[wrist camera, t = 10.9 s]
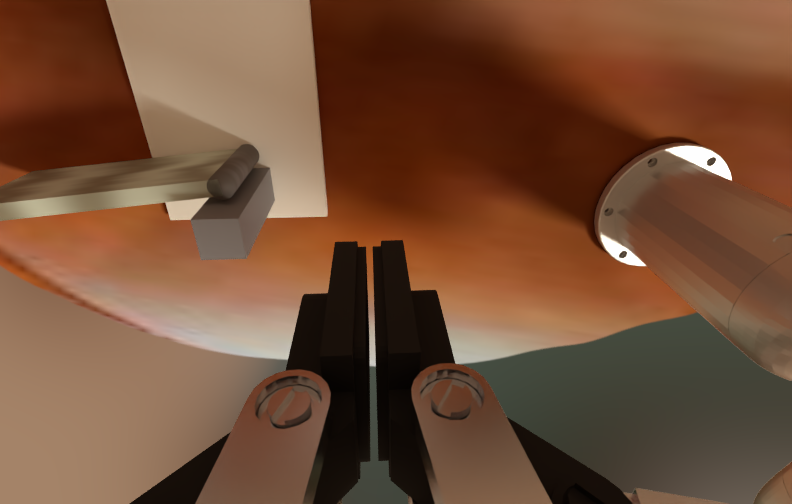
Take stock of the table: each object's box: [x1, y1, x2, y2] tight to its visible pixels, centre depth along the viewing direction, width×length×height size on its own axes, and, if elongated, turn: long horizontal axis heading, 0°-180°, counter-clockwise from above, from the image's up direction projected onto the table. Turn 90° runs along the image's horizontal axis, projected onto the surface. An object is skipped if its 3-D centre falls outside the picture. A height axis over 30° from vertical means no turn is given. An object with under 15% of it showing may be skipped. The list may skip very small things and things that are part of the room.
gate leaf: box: [0, 144, 259, 221], centre depth 31 cm, size 18×2×8 cm, turn 95°
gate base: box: [106, 0, 328, 260], centre depth 27 cm, size 26×14×11 cm, turn 0°
